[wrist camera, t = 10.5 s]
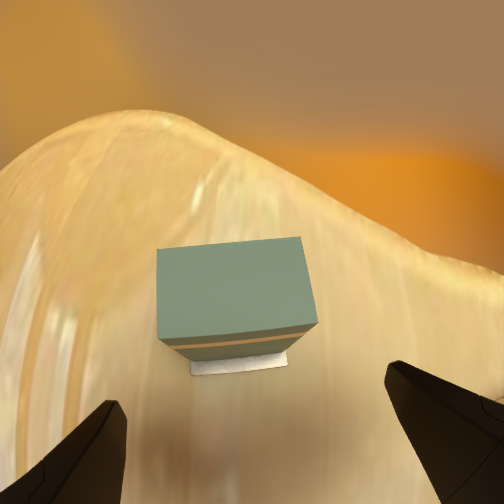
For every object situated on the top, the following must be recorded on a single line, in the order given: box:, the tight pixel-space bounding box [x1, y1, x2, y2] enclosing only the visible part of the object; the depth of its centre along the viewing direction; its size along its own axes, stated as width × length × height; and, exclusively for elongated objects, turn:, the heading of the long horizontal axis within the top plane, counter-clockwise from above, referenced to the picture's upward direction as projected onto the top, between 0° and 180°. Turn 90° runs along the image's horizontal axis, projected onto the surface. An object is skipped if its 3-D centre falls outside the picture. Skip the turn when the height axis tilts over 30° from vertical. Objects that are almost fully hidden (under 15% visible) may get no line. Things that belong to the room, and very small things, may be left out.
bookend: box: [190, 350, 288, 376], centre depth 19 cm, size 7×7×5 cm
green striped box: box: [157, 237, 318, 362], centre depth 17 cm, size 4×6×10 cm, turn 97°
